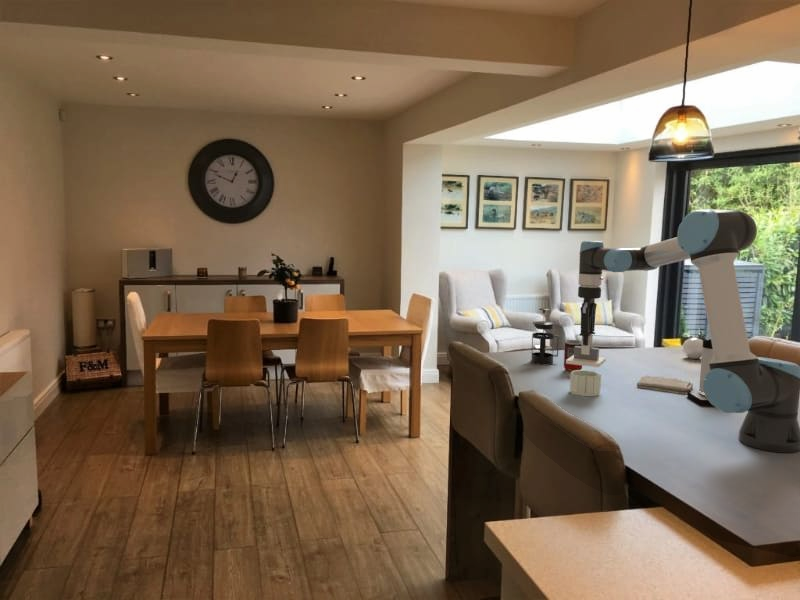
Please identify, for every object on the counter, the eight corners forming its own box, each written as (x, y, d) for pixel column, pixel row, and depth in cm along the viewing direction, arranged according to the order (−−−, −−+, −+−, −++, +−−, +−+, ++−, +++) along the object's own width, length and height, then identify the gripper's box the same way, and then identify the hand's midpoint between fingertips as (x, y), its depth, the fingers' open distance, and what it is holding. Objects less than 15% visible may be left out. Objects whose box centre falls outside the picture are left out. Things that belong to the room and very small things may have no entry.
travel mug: (708, 397, 219) (712, 340, 217) (695, 392, 225) (698, 336, 223) (723, 396, 221) (728, 339, 218) (709, 391, 227) (713, 336, 225)
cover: (598, 367, 216) (599, 352, 215) (565, 363, 221) (566, 348, 220) (605, 361, 225) (606, 346, 225) (574, 357, 231) (574, 343, 230)
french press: (528, 363, 269) (530, 309, 266) (530, 359, 278) (532, 306, 275) (557, 365, 266) (559, 310, 263) (558, 360, 275) (560, 307, 272)
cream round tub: (596, 398, 218) (597, 378, 217) (566, 394, 222) (567, 374, 222) (602, 391, 226) (603, 372, 225) (574, 387, 231) (575, 368, 230)
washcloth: (689, 395, 223) (690, 387, 223) (635, 388, 232) (635, 380, 232) (693, 388, 233) (693, 380, 233) (641, 381, 242) (641, 373, 242)
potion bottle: (679, 359, 286) (716, 367, 280) (681, 350, 278) (719, 358, 272) (683, 341, 290) (719, 348, 284) (685, 331, 282) (722, 338, 276)
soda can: (581, 374, 252) (583, 343, 250) (563, 372, 254) (564, 342, 252) (582, 370, 258) (583, 340, 257) (564, 368, 260) (565, 339, 259)
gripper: (595, 288, 211) (592, 358, 214) (605, 284, 225) (602, 350, 228) (573, 287, 215) (569, 356, 218) (584, 283, 228) (581, 348, 231)
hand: (586, 353), depth 223 cm, fingers closed on cover, 2 cm apart
